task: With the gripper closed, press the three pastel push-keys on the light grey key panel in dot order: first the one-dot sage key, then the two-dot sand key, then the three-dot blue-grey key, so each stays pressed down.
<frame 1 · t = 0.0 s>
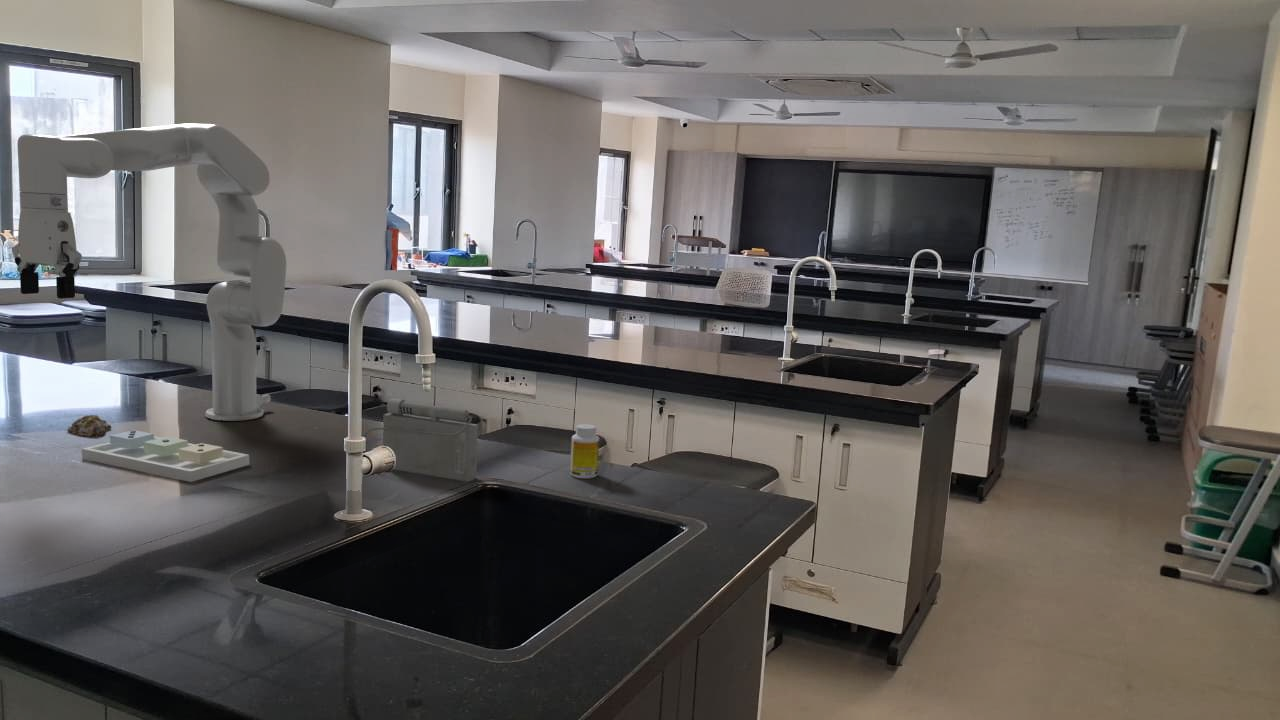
hand: (47, 295, 178), 31 cm above the worktop, tool pointing down, fingers open, 9 cm apart
key three dots: (132, 439, 187), point 3 cm above the worktop, slide at 0.0 cm
key panel: (166, 461, 184), on the worktop
mineral rock: (90, 433, 203), on the worktop
key one dot: (165, 445, 184), point 3 cm above the worktop, slide at 0.0 cm
geiger counter: (416, 472, 187), on the worktop
supplement bottle: (583, 476, 191), on the worktop
key two dots: (200, 452, 180), point 3 cm above the worktop, slide at 0.0 cm
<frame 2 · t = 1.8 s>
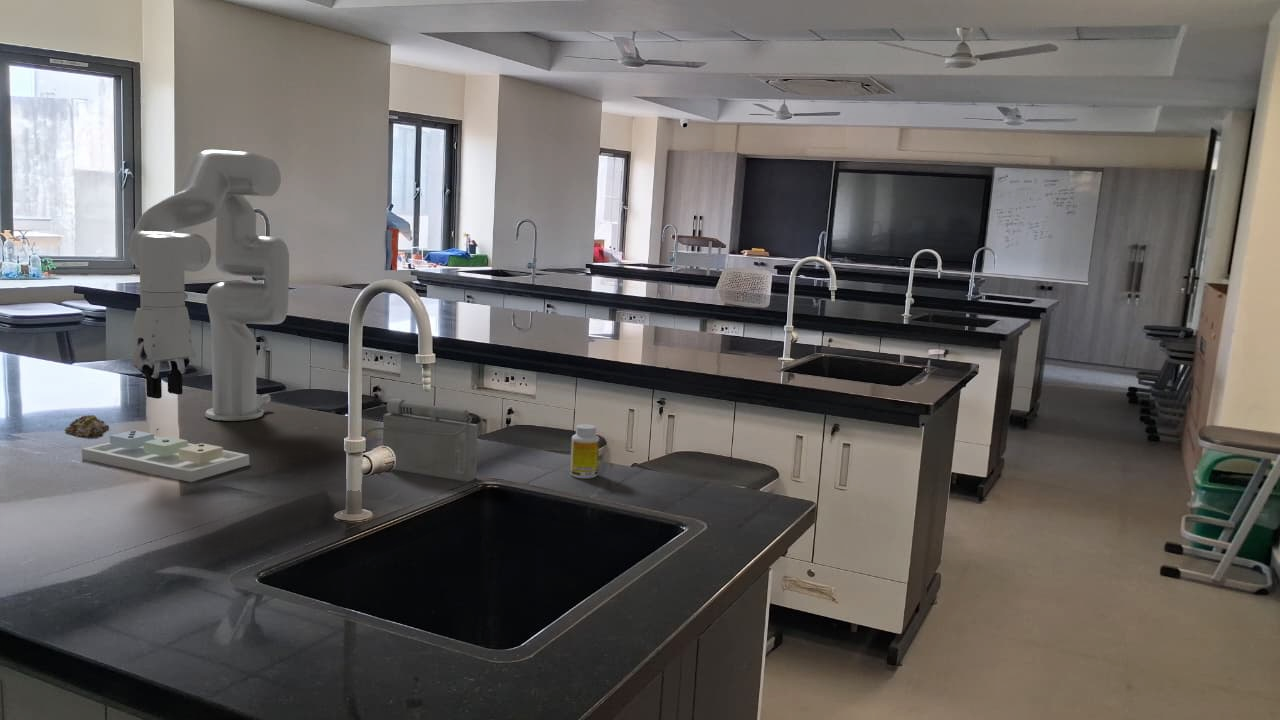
hand: (164, 394, 182), 13 cm above the worktop, tool pointing down, fingers open, 4 cm apart
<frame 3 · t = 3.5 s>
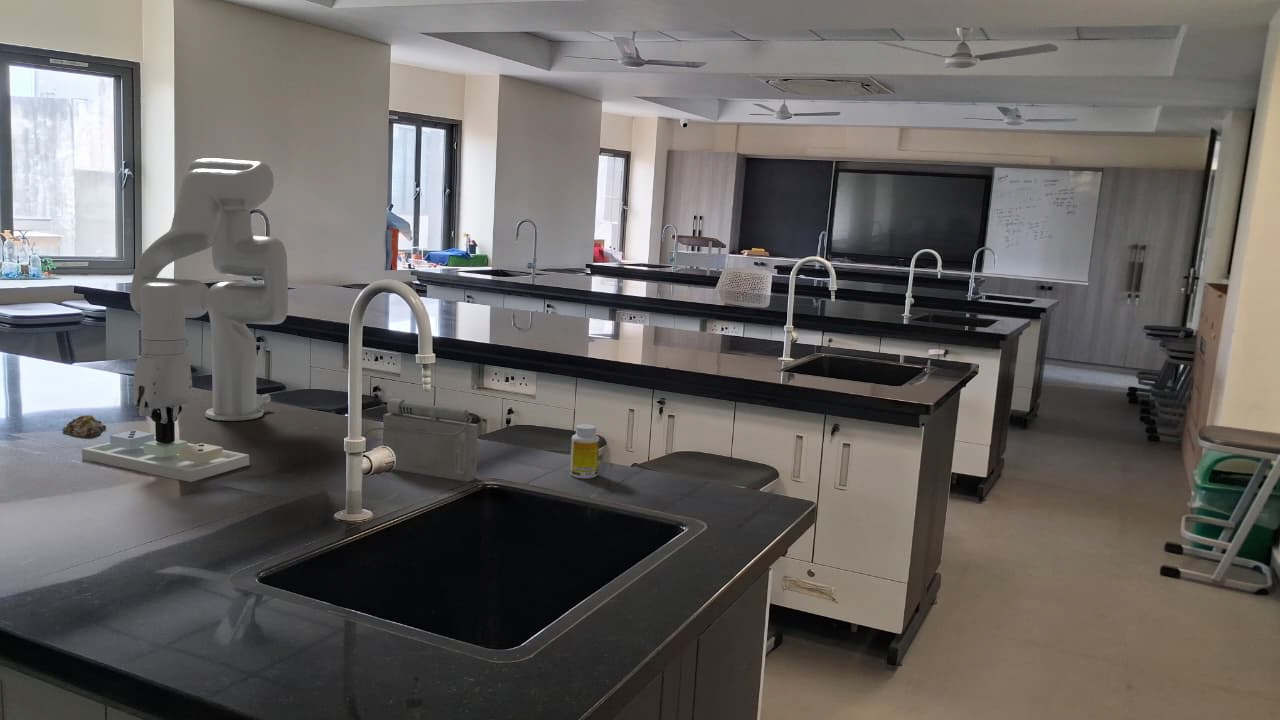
hand: (165, 441, 183), 4 cm above the worktop, tool pointing down, fingers closed
key one dot: (165, 446, 184), point 3 cm above the worktop, slide at 0.2 cm, touching gripper
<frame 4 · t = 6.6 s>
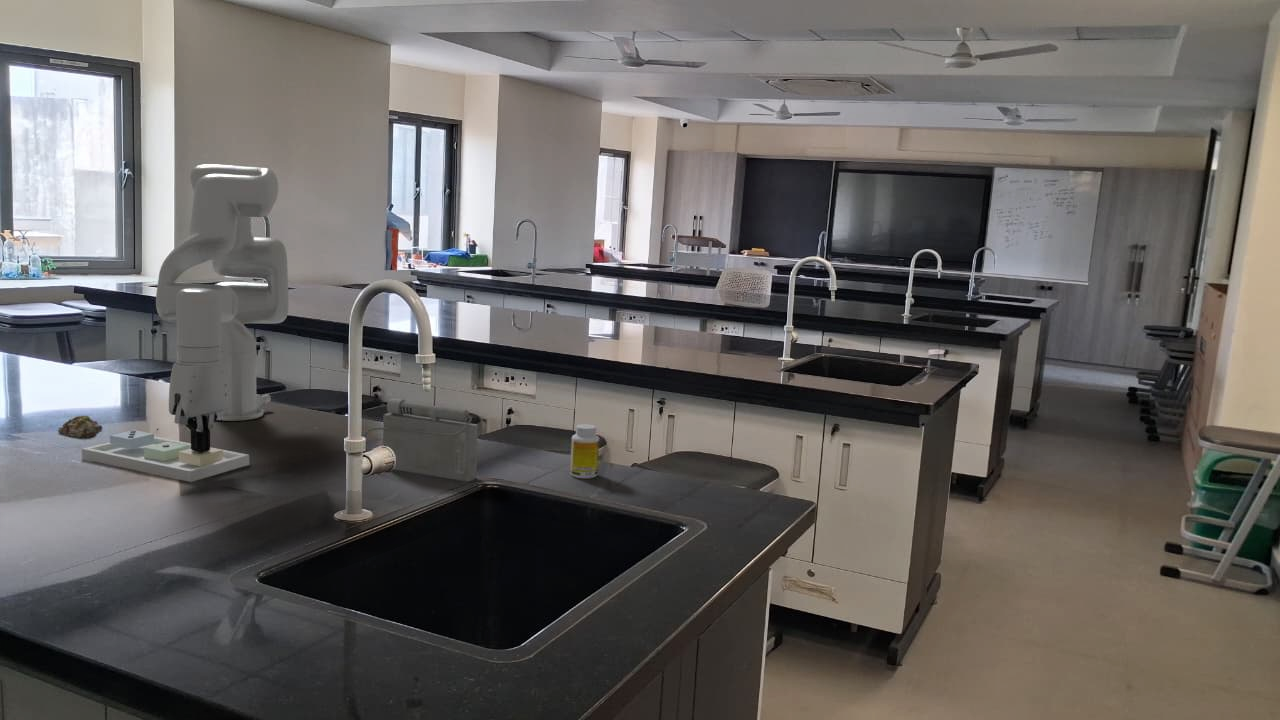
hand: (200, 450, 180), 4 cm above the worktop, tool pointing down, fingers closed
key one dot: (166, 451, 184), point 2 cm above the worktop, slide at 1.0 cm
key two dots: (200, 455, 180), point 3 cm above the worktop, slide at 0.5 cm, touching gripper
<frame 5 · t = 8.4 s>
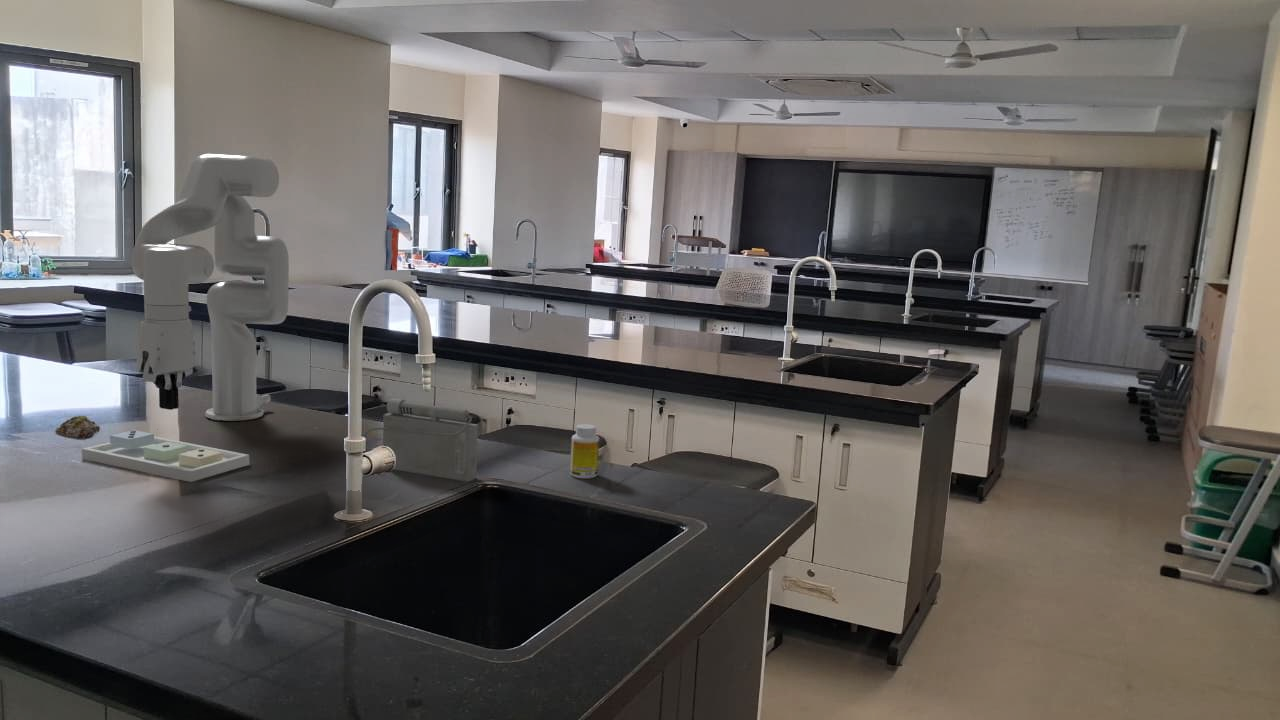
hand: (169, 407, 182), 11 cm above the worktop, tool pointing down, fingers closed
key two dots: (200, 458, 180), point 2 cm above the worktop, slide at 1.0 cm
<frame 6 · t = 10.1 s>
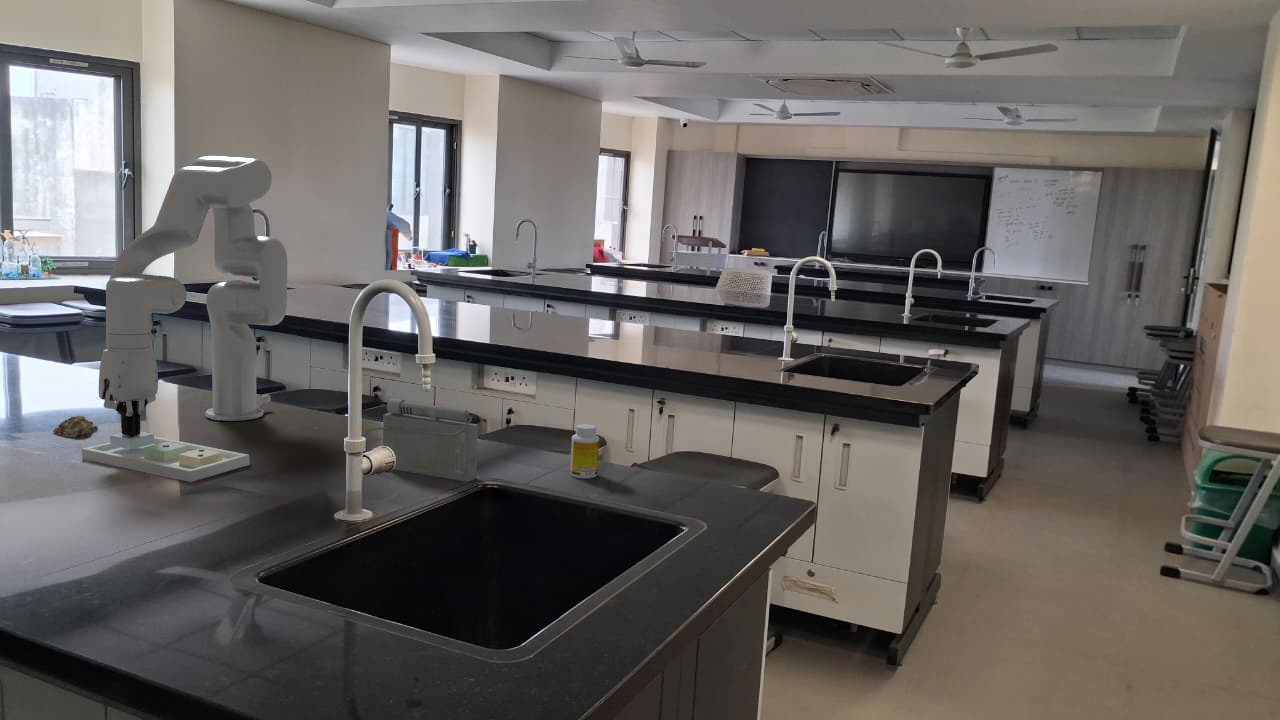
hand: (130, 434, 186), 4 cm above the worktop, tool pointing down, fingers closed
key three dots: (132, 439, 187), point 3 cm above the worktop, slide at 0.0 cm, touching gripper
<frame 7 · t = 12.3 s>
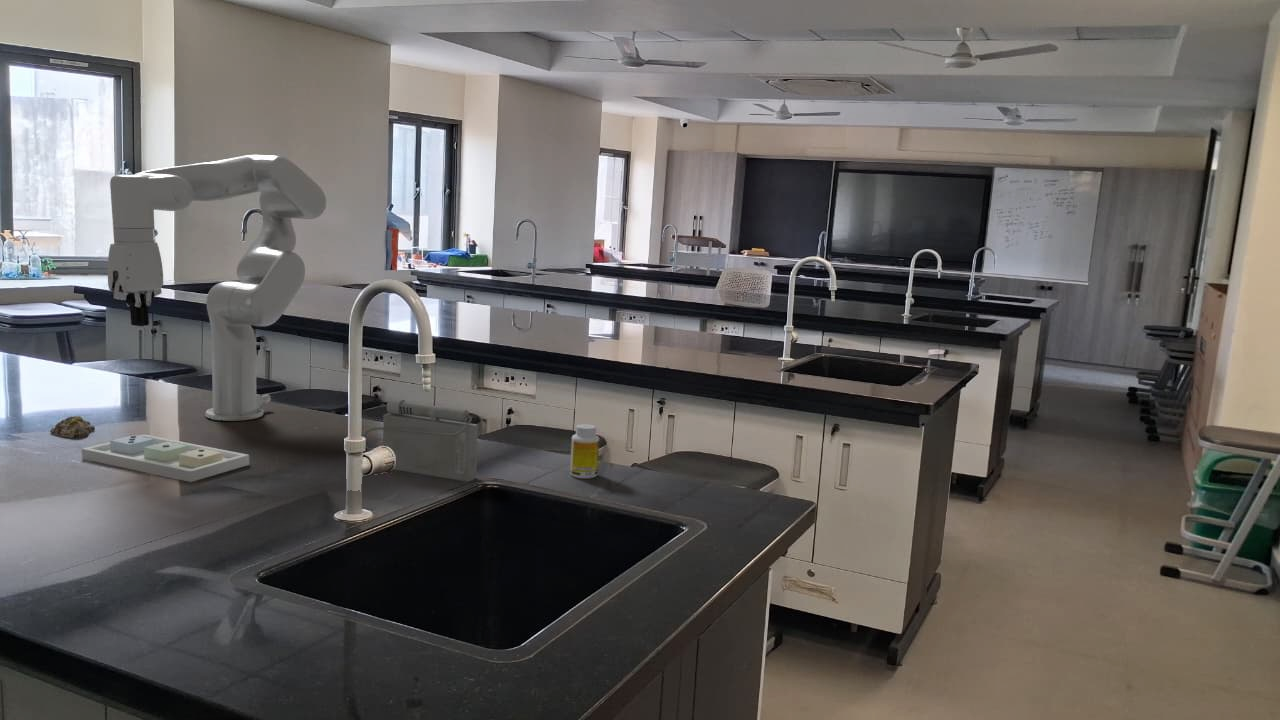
hand: (140, 324, 197), 24 cm above the worktop, tool pointing down, fingers closed
key three dots: (132, 444, 187), point 2 cm above the worktop, slide at 1.0 cm
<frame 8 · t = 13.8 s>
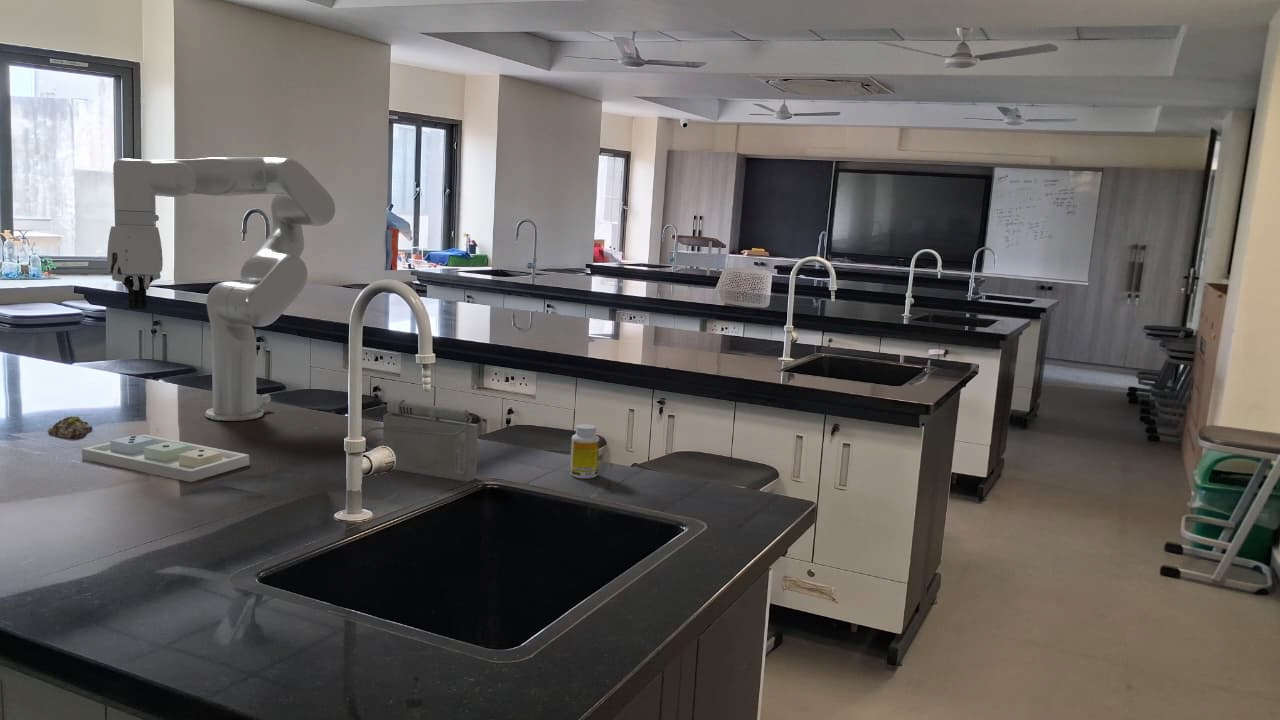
hand: (137, 308, 199), 27 cm above the worktop, tool pointing down, fingers closed
at the end: key one dot slide at 1.0 cm; key two dots slide at 1.0 cm; key three dots slide at 1.0 cm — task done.
